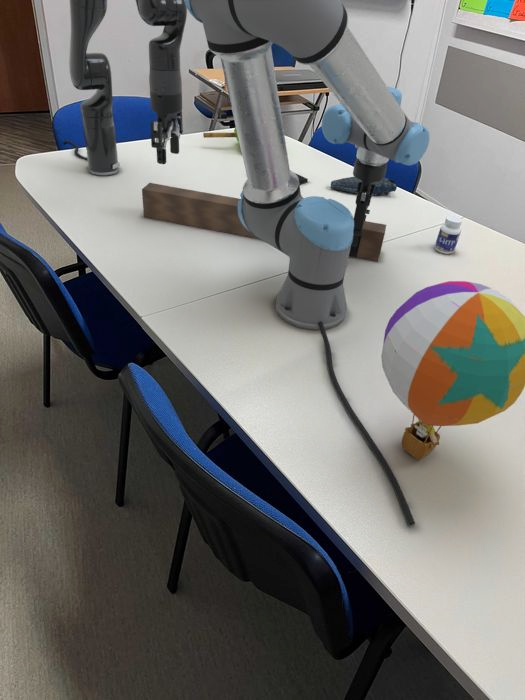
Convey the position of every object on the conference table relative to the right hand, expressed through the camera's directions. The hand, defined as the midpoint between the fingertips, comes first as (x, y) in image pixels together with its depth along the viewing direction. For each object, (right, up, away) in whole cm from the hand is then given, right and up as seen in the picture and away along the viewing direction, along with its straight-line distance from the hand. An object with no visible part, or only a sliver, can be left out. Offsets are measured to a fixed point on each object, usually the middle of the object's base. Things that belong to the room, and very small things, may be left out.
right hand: (354, 246), depth 134 cm
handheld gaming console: (-16, +30, +38) cm, 51 cm away
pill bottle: (+25, 0, +6) cm, 26 cm away
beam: (-25, +4, +5) cm, 26 cm away
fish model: (+9, +25, +35) cm, 43 cm away
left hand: (-48, +22, -1) cm, 53 cm away
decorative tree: (-31, +48, +59) cm, 82 cm away
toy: (+1, -43, -51) cm, 67 cm away
